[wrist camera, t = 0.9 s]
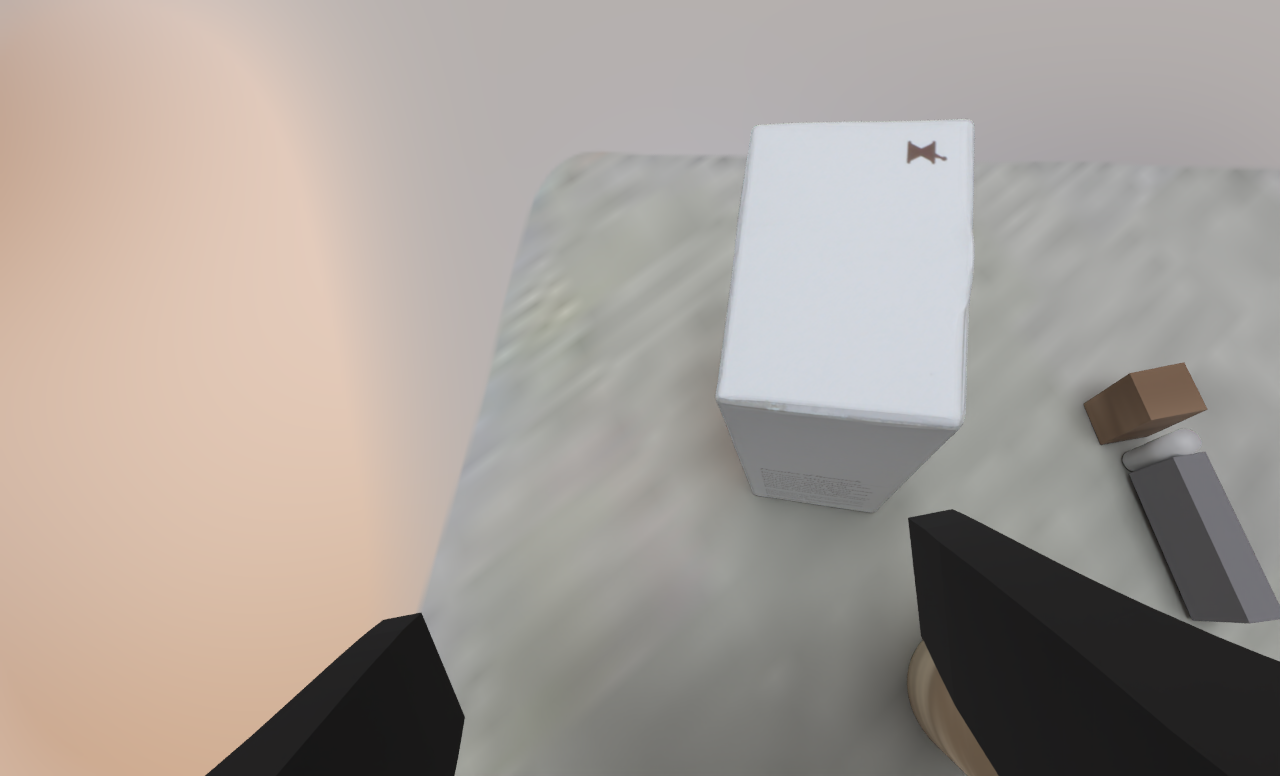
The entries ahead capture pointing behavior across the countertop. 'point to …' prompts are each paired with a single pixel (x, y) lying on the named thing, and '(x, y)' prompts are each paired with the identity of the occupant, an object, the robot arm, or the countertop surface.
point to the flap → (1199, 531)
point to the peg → (943, 716)
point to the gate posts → (1144, 403)
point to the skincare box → (848, 306)
